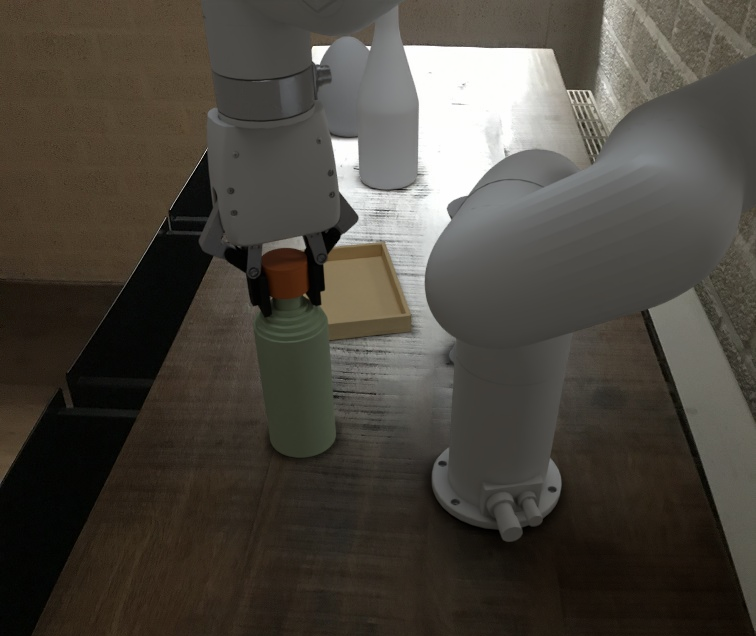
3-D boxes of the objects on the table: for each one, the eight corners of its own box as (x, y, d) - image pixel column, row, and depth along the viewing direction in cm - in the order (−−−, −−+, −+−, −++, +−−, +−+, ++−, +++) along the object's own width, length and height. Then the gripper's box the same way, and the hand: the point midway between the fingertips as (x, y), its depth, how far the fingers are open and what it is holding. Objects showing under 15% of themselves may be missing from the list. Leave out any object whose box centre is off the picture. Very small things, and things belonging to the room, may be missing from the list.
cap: (305, 273, 74) (302, 244, 72) (313, 295, 71) (311, 267, 69) (260, 279, 73) (256, 251, 71) (267, 302, 70) (263, 273, 68)
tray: (411, 331, 98) (411, 315, 96) (296, 343, 97) (294, 327, 95) (385, 256, 112) (384, 241, 110) (284, 266, 110) (282, 251, 108)
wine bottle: (427, 185, 128) (432, -37, 107) (371, 195, 125) (366, -29, 104) (403, 163, 134) (404, -50, 113) (351, 173, 132) (341, -43, 110)
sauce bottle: (340, 453, 82) (328, 283, 69) (272, 461, 82) (246, 291, 68) (331, 411, 87) (319, 245, 73) (268, 419, 87) (243, 252, 73)
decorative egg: (391, 119, 149) (390, 28, 138) (374, 144, 140) (372, 49, 130) (328, 114, 151) (323, 25, 140) (308, 139, 142) (301, 45, 132)
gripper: (351, 62, 65) (359, 267, 78) (145, 91, 61) (190, 303, 74) (385, 90, 60) (388, 305, 73) (164, 125, 56) (208, 346, 69)
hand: (288, 302), depth 73 cm, fingers closed on cap, 4 cm apart
